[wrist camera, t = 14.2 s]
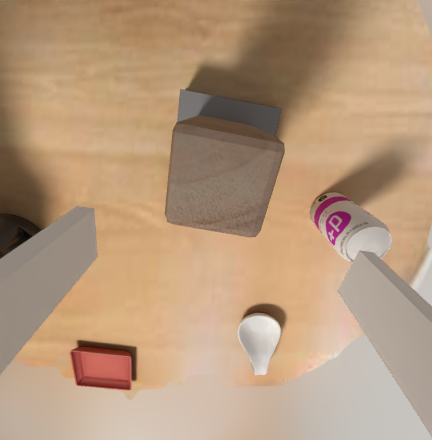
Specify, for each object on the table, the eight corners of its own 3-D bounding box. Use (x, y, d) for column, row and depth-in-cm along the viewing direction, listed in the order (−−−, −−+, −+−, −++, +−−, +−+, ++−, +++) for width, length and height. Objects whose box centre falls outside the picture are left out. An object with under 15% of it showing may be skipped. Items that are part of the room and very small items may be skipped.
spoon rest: (235, 307, 63) (237, 329, 57) (278, 304, 62) (285, 326, 56) (240, 361, 73) (242, 385, 67) (277, 359, 73) (282, 383, 66)
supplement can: (301, 217, 51) (331, 257, 37) (323, 184, 47) (365, 215, 34) (331, 231, 52) (370, 273, 39) (355, 200, 49) (407, 235, 35)
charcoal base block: (176, 180, 47) (170, 189, 42) (184, 90, 40) (179, 87, 35) (253, 193, 48) (257, 203, 43) (275, 107, 41) (283, 107, 36)
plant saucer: (134, 347, 71) (130, 357, 68) (134, 380, 79) (131, 391, 76) (75, 340, 70) (68, 350, 67) (81, 375, 78) (75, 385, 75)
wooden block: (195, 113, 36) (171, 117, 18) (256, 126, 37) (291, 141, 19) (187, 174, 41) (161, 226, 23) (242, 184, 41) (259, 243, 23)
